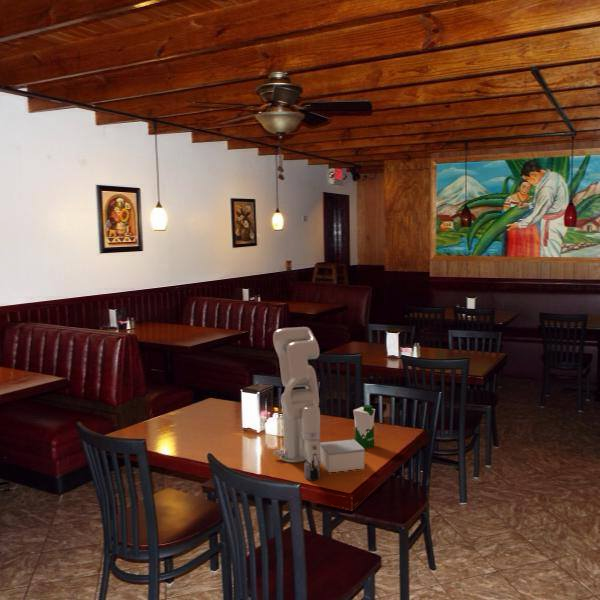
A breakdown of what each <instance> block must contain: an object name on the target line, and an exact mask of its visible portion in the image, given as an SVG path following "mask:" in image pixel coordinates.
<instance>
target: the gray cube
mask: <svg viewBox="0 0 600 600" xmlns="http://www.w3.org/2000/svg"><path fill="white" fill-rule="evenodd" d="M312 463H314V461H312ZM303 465H304V466H303V468H304V470H303V471H304V479H305V480H308V481H312V480H311V479H310V470H311V465H310V463H309V462H308V461H307V462H306V461H304V463H303ZM312 466H314V464H312ZM320 467H321V466H320V463H318V479H317V480H319V479H320V475H321V474H320V472H321V471H320ZM317 480H316V479H314V480H313V481H317Z"/></svg>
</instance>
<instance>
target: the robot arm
mask: <svg viewBox="0 0 600 600" xmlns="http://www.w3.org/2000/svg"><path fill="white" fill-rule="evenodd" d="M272 342H273V347H274V349H275V352H276V354H277V358H278V360H279V361H278V362H279V368H280V370H279V371H280V377H281V382H282V386H283V387H284V391H283V393H282V394H281V396H280V403H281V404H280V405H281V409H282V418H283V419H282V421H283V425H282V426H283V447H282V449H280V450H278V449H277V450H273V454H274V456H277V457H280V459H281V460H282V461H283V462H287V463H293V464H294V463H302V462H307V461H308V462H309V463H310V465H311V470H310V479H311V480H310V481H315V480H314V479H317V480H319V479H318V463H319V464H320V463H321V456H320V444H319V443H320V439H321V410H320V407H319V405H320V404H319V403H320V398H319V396H320V395H319V387H318V379H317V375H316V371H315V368H314V367H313V366H312V365H311V364H309V362H308V360H315V359H318V358H319V356H320V347H319V344H318V341H317V339H316V337H315V336H314V333H313V332H312V329H310V327H308V326H301V327H300V326H298V327H283V328H279V329H276V330H275V331H274V332H273V335H272ZM298 387H305V388H302V389H294V388H298ZM312 461H314V463H312ZM312 464H314V466H312Z"/></svg>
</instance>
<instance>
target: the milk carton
mask: <svg viewBox="0 0 600 600" xmlns="http://www.w3.org/2000/svg"><path fill="white" fill-rule="evenodd" d="M352 411H353V412H352V413H353V417H354V440H355V441H357V442H358V443H359V444H360V445H361V446H362V447H363V448H366V449H365V450H368V449H370V448H372V447H374V446H376V445H375V444H376V443H375V413H376V409H375V408H373V406H372V405H370V404H365V405H363V406H360V407H358V408H355V409H353V410H352ZM373 445H374V446H373ZM371 446H372V447H371ZM369 447H370V448H369ZM367 448H368V449H367Z"/></svg>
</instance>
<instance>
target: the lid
mask: <svg viewBox="0 0 600 600" xmlns="http://www.w3.org/2000/svg"><path fill="white" fill-rule="evenodd" d="M319 444H320V446H321V447H322V448H323V449H324V450H325V451H326V453H327V454H328V455H331V454H340V453H350V452H359V451H364V452H365V451H366V449H364V448H363V447H362V446H361V445H360V444H359V443H358V442H357V441H355V438H354V439H353V438H352V439H344V440H334V441H324V442H319Z"/></svg>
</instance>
